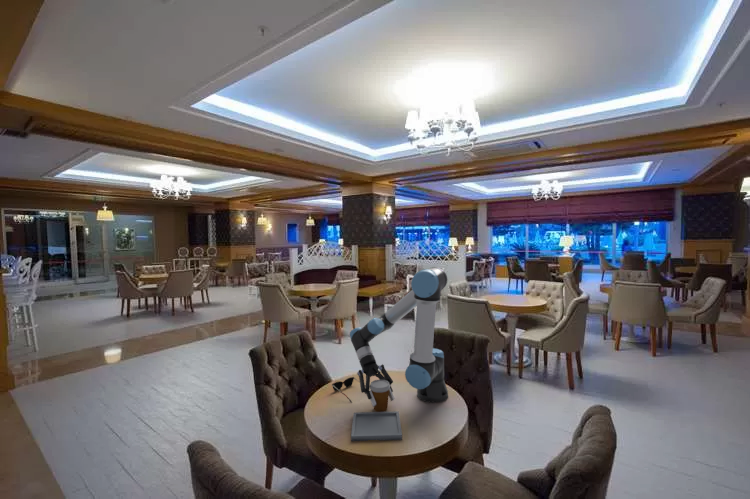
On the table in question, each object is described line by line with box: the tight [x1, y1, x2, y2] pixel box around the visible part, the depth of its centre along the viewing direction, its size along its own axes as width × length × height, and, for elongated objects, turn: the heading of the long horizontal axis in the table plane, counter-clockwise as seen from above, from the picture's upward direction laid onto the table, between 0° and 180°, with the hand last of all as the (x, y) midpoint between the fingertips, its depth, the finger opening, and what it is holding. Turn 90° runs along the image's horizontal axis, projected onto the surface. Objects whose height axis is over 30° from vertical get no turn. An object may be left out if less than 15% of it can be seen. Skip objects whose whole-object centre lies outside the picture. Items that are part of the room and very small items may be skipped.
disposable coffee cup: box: [369, 379, 390, 412], centre depth 163 cm, size 10×10×12 cm
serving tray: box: [350, 410, 403, 442], centre depth 147 cm, size 20×18×2 cm
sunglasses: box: [331, 376, 366, 404], centre depth 179 cm, size 14×16×5 cm
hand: (383, 402), depth 160 cm, fingers closed on disposable coffee cup, 9 cm apart
